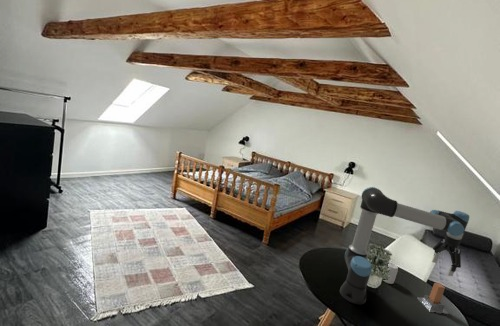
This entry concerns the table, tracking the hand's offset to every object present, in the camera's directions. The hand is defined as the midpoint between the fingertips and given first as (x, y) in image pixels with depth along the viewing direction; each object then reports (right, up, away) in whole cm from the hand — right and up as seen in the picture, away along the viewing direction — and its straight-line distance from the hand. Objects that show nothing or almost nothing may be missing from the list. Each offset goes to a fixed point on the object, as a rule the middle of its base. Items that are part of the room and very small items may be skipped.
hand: (441, 268), depth 170 cm
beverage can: (-22, -17, +23) cm, 36 cm away
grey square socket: (-3, -25, +4) cm, 25 cm away
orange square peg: (-3, -24, +4) cm, 24 cm away
